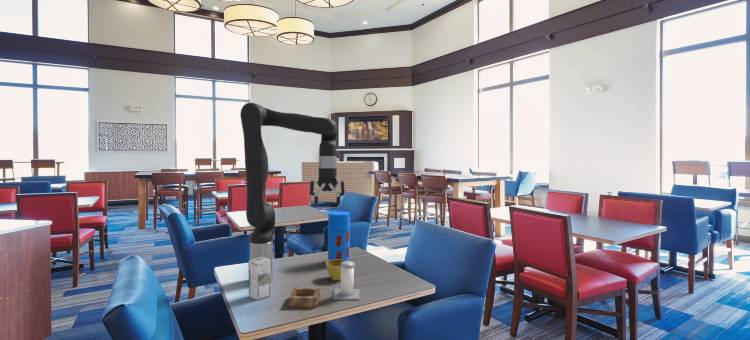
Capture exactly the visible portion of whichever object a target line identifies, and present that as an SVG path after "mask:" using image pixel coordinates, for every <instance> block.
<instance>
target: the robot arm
mask: <svg viewBox="0 0 750 340" xmlns="http://www.w3.org/2000/svg"><path fill="white" fill-rule="evenodd" d="M239 116H240V122H241V127H242V133H243V142H244V143H243V145H244V146H243V147H244V150H243V151H244V165H245V166H244V167H245V169H244V170H245V176H246V177H245V178H246V179H245V180H246V207H245V208H246V211H245V214H246V215H245V216H246V221H247V222H248V224H249V225H250V226H251V227H253V228H254V230H253V232H252V233H251V234H250V236H249V260H252V259H256V258H260V257H265V258H267V259H269V260H271V264H270V283H272V282H273V281H274V279H273V276H274V273H273V272H274V270H273V269H274V268H273V265H274V262H273V260H274V259H273V257H274V256H273V255H274V251H273V249H274V248H273V247H274V243H273V242H274V240H273V237H274V235H275V233H276V232H275V230H276V229H275V228H276V212H275V209H274V206H273V205H271V204H270V203H268V202H265V201H264V191H265V187H266V184H267V181H268V177H269V157H268V153H267V150H266V147H265V144H264V141H263V137H262V127H264V126H265V127H267V126H268V127H279V128H284V129H288V130H292V131H296V132H297V131H298V132H303V133H313V134H316V135H317V134H318V135H321V138H320V143H319V147H318V150H319V151H318V178H317V180H311V181H310V187H309V189H310V190H309V195H310V196H313V198H314V199H313V200H314V205H315V206H317V207H318V206H319V196H318V195H319V194H320V193H321V192H333V193H334V194H335V195H336V205H335V206H336V207H338V206H339V205H340V204H341V198H342V196H344V195H345V193H346V192H345V181H344V180H341V181H340V180H339V181H338V179H337V169H338V163H337V162H338V161H337V160H338V159H337V140H338V125H337V122H336V121H335V120H333V119H331V118H327V117H318V116H312V115H307V114H301V113H296V112H295V113H293V112H282V111H276V110H273V109H269V108H267V107H263V106H262V105H260V104H257V103H255V102H247V103H245V104H243V106H242V107H241V109H240V115H239ZM316 185H317V186H318V187H319V188H318V189H317V191H316V192H315V187H316ZM337 185H338V186H339V187H340V191H341V192H339V190H338V189H337Z"/></svg>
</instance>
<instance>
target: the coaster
mask: <svg viewBox="0 0 750 340" xmlns="http://www.w3.org/2000/svg"><path fill="white" fill-rule="evenodd" d="M360 290H361V289H360V288H353V295H351V296H343V295H341V294H340V291H341V288H334V289H333V291H334V292H333V296H332V300H333V301H360V293H361V292H360Z"/></svg>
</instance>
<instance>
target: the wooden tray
mask: <svg viewBox="0 0 750 340" xmlns="http://www.w3.org/2000/svg"><path fill="white" fill-rule="evenodd" d="M320 299H321V288H320V287H294V288H293V289H292V291H291V293H290V294H289V296H288V308H289V309H290V308H297V309H298V308H304V309H305V308H307V309H308V308H309V309H310V308H314V309H315V308H317V309H318V305H319V302H320Z"/></svg>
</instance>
